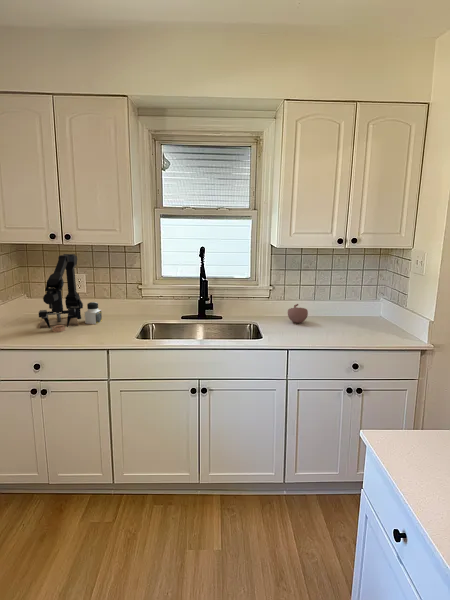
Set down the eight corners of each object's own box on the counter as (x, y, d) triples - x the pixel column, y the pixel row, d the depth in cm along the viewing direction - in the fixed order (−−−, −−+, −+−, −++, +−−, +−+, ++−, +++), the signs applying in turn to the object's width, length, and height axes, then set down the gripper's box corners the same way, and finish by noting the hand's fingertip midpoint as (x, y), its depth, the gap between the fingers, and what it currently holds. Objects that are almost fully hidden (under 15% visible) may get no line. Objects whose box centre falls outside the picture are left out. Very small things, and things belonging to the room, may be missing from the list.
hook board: (77, 320, 247) (76, 309, 246) (77, 325, 237) (77, 314, 235) (41, 322, 241) (40, 312, 239) (39, 328, 230) (39, 317, 228)
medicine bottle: (96, 324, 239) (95, 304, 237) (85, 323, 240) (83, 303, 238) (102, 321, 246) (101, 301, 244) (91, 320, 247) (89, 301, 245)
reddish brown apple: (305, 320, 254) (306, 302, 252) (308, 325, 243) (309, 306, 240) (286, 319, 254) (286, 302, 252) (288, 325, 243) (289, 306, 240)
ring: (65, 328, 231) (64, 324, 230) (65, 331, 225) (64, 327, 224) (52, 329, 228) (52, 325, 228) (52, 332, 223) (52, 328, 222)
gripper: (74, 296, 234) (76, 322, 237) (38, 298, 227) (41, 325, 231) (74, 300, 223) (76, 327, 227) (37, 302, 217) (39, 330, 220)
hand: (58, 327), depth 226 cm, fingers open, 9 cm apart
